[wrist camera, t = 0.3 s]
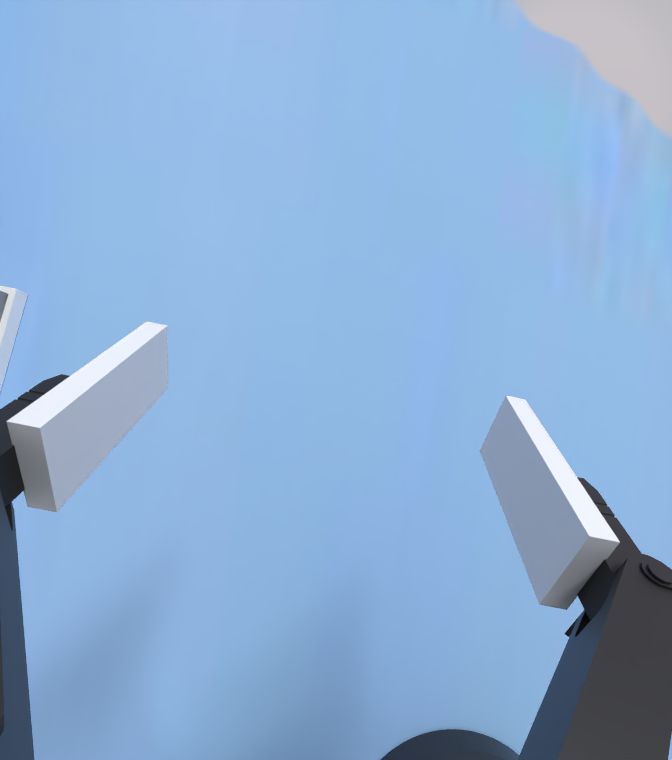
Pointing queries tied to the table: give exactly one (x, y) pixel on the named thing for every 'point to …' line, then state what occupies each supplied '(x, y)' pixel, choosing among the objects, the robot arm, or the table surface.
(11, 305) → the sheet
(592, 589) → the robot arm
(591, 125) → the table surface
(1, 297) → the button housing
